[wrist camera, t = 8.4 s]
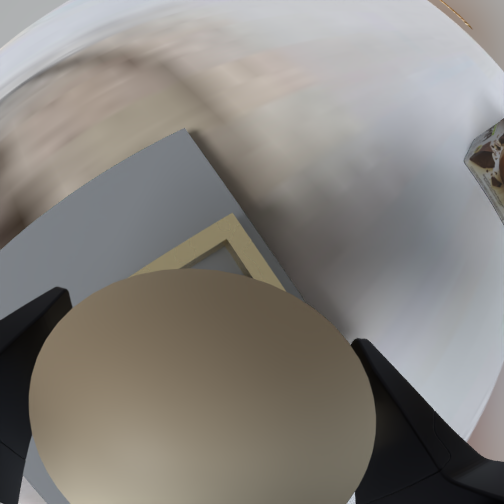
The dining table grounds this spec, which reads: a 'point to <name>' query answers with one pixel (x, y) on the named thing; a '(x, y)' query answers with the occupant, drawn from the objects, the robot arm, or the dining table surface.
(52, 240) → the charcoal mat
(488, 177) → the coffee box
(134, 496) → the disc
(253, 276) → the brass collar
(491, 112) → the dining table surface
